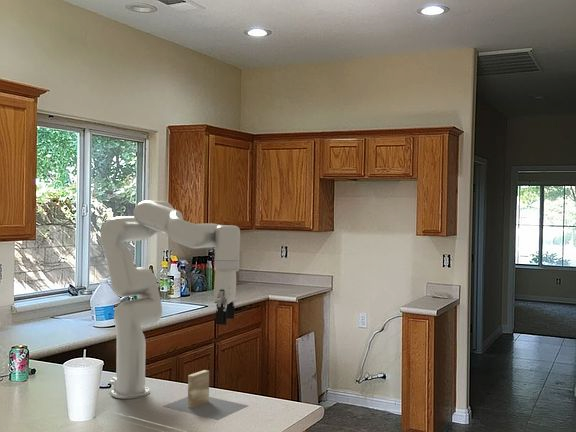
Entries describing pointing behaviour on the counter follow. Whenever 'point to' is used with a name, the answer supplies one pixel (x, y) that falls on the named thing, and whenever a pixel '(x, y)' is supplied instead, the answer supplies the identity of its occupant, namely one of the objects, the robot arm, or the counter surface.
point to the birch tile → (198, 388)
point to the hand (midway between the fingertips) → (225, 321)
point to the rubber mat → (208, 407)
